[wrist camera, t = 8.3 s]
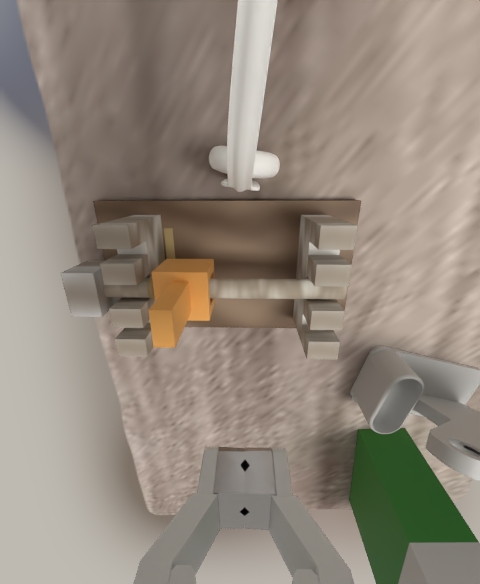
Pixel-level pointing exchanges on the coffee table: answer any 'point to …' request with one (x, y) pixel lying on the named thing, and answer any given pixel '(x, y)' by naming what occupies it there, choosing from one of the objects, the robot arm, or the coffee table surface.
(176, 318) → the sleeve
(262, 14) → the headset
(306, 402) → the coffee table surface
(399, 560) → the hardback book
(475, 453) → the phone holder
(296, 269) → the cord comb board
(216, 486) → the robot arm
